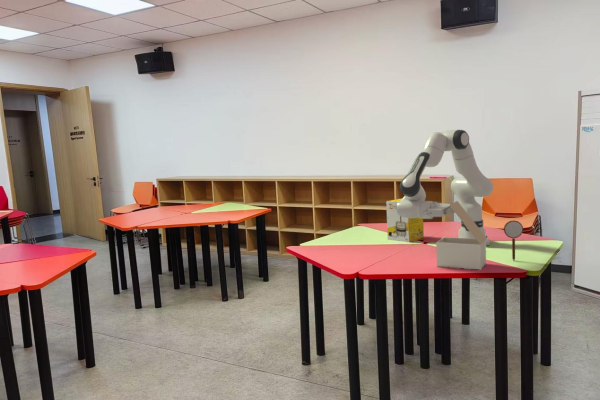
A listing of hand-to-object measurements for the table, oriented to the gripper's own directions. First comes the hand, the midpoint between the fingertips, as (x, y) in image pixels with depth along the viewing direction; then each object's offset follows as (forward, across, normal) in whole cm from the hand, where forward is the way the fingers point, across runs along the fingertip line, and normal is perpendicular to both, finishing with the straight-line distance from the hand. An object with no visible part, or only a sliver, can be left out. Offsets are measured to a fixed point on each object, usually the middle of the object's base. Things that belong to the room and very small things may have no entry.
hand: (457, 210), depth 213 cm
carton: (+2, 0, +27) cm, 27 cm away
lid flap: (+5, 0, +5) cm, 7 cm away
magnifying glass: (+22, +16, +27) cm, 38 cm away
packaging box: (-46, +54, +27) cm, 76 cm away
